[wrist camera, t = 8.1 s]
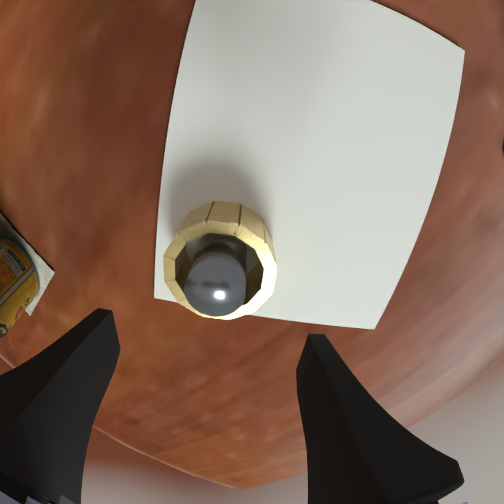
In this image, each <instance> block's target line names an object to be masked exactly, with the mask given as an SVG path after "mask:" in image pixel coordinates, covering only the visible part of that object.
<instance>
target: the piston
mask: <svg viewBox="0 0 504 504" xmlns="http://www.w3.org/2000/svg"><path fill="white" fill-rule="evenodd" d="M246 256H247V246H246V243H245V242H244V241H242V240H241V239H239V238H238V237H236V236H235V235H226V234H216V233H207V234H205V235H203V236H202V237H201V239H200V242H199V245H198V248H197V250H196V253H195V256H194V259H193V262H192V264H191V267H190V270H189V273H188V276H187V279H186V282H185V286H184V293H185V297H186V299H187V301H188V303H189V304H190V305H191V306H192V307H193V308H194V309H195V310H197V311H198V312H200V313H202V314H205V315H208V316H213V317H221V316H226V315H230V314H232V313H234V312H235V311H237V310H238V309H239V308H240V307H241V306H242V304H243V302H244V300H245V295H246Z"/></svg>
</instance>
